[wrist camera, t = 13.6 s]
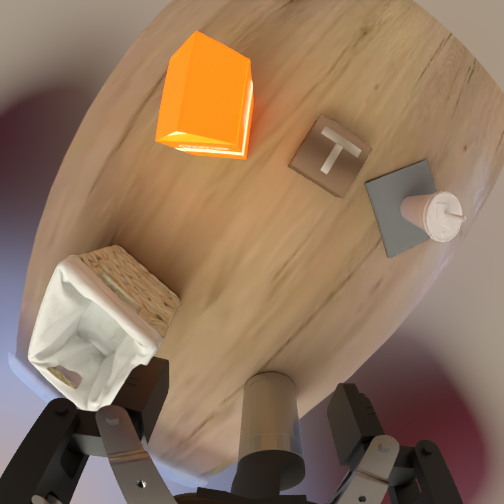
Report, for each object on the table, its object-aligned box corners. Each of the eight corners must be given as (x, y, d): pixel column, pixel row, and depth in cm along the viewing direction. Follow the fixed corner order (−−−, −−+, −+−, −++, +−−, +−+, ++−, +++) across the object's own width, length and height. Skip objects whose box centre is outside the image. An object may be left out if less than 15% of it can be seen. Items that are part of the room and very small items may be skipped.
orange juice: (254, 100, 34) (248, 29, 15) (247, 160, 37) (232, 136, 17) (200, 97, 34) (149, 32, 15) (191, 155, 37) (127, 133, 17)
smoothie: (411, 179, 36) (469, 182, 22) (432, 210, 36) (490, 225, 23) (385, 206, 37) (438, 220, 23) (407, 237, 38) (461, 262, 24)
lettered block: (335, 196, 37) (343, 198, 33) (287, 166, 37) (290, 164, 33) (362, 150, 36) (373, 147, 32) (316, 119, 35) (322, 112, 31)
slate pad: (443, 229, 38) (445, 230, 37) (387, 257, 39) (388, 258, 39) (424, 159, 35) (426, 159, 35) (364, 183, 37) (365, 183, 36)
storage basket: (126, 374, 47) (95, 423, 33) (66, 321, 45) (23, 358, 30) (192, 297, 42) (162, 350, 28) (116, 230, 40) (58, 254, 25)
